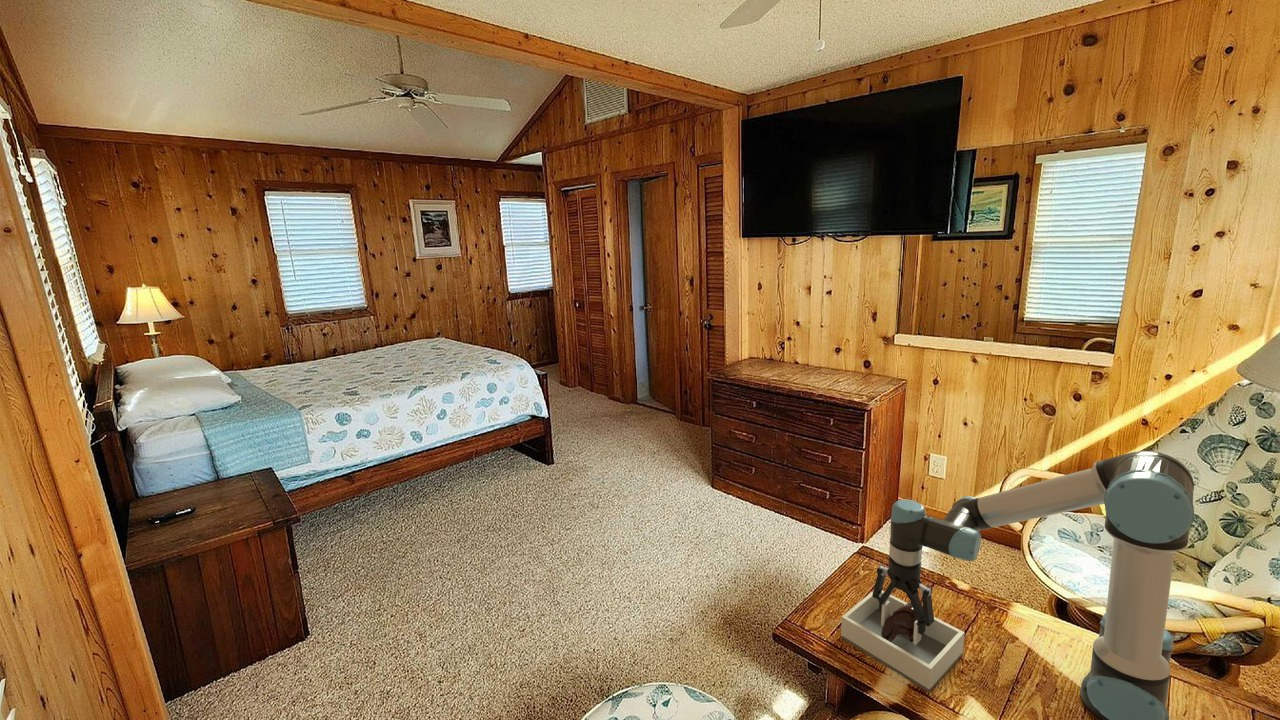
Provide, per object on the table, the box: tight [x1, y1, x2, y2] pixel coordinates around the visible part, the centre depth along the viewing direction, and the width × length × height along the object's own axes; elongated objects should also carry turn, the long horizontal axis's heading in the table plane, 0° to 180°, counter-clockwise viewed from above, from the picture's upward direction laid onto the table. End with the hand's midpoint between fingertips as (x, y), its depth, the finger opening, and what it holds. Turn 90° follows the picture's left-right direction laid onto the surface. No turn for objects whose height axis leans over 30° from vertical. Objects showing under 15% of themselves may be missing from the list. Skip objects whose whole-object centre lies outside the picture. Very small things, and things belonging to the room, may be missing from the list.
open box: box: [840, 589, 966, 694], centre depth 145 cm, size 24×18×7 cm
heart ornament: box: [881, 601, 917, 642], centre depth 146 cm, size 6×12×11 cm
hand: (900, 632), depth 144 cm, fingers closed on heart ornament, 8 cm apart
